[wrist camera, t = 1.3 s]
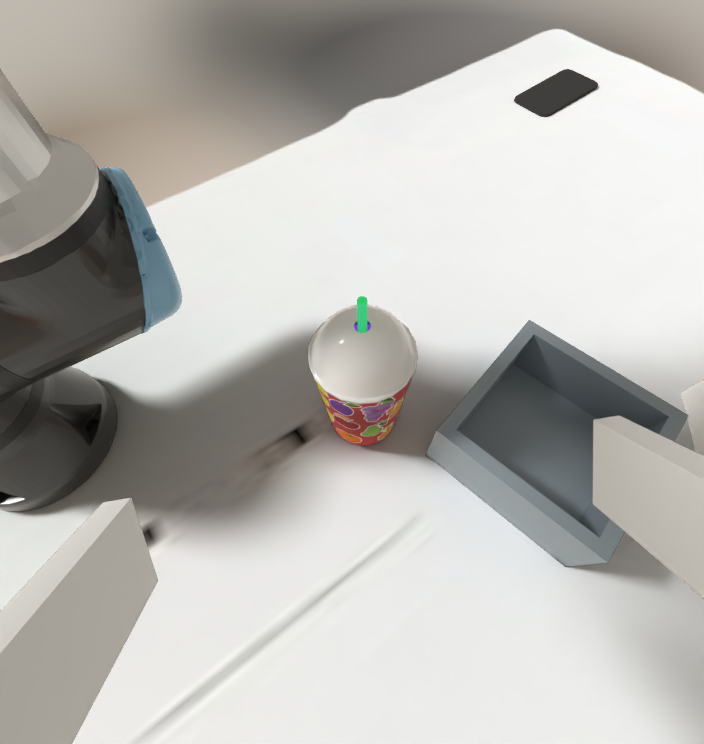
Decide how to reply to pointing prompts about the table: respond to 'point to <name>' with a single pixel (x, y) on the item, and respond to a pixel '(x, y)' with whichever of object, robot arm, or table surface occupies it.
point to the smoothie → (362, 370)
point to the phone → (555, 92)
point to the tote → (545, 441)
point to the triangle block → (695, 414)
